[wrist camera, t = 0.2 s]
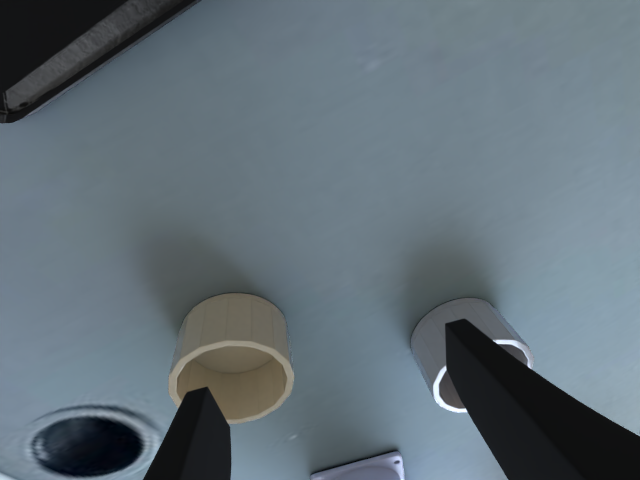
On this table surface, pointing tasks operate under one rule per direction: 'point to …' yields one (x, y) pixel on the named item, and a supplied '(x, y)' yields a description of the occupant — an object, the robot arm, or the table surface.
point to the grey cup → (432, 344)
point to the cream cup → (234, 356)
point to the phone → (68, 44)
